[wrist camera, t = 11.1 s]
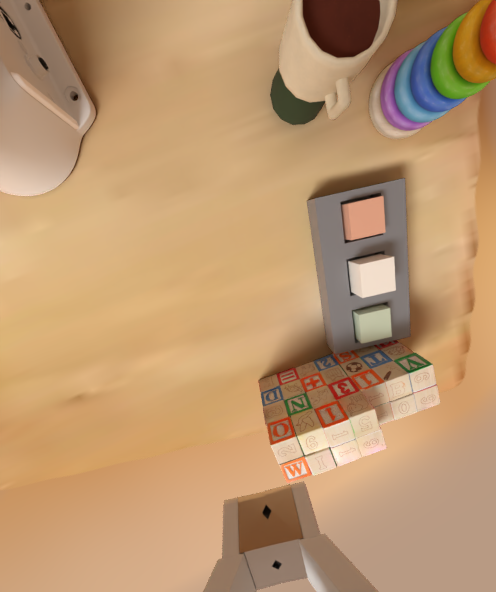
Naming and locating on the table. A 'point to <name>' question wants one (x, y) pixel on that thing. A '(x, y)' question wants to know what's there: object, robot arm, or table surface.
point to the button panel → (338, 251)
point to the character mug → (326, 54)
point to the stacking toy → (436, 74)
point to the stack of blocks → (342, 405)
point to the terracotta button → (363, 218)
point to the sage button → (372, 323)
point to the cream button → (372, 275)
